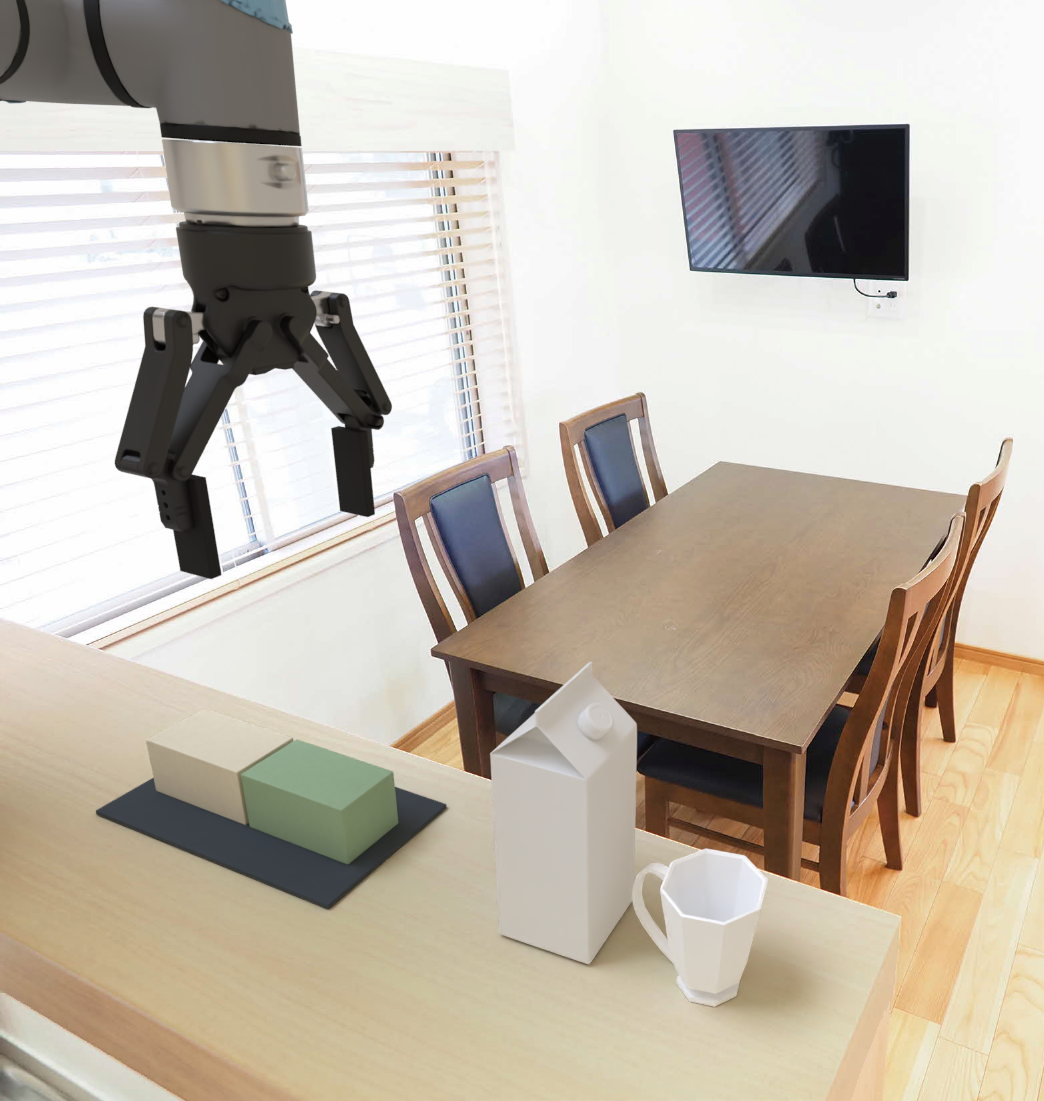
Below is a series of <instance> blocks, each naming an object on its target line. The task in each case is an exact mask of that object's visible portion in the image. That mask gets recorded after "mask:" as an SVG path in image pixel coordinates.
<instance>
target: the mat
mask: <svg viewBox="0 0 1044 1101" xmlns="http://www.w3.org/2000/svg"><path fill="white" fill-rule="evenodd" d="M395 794H396V804H397V815H398V824H397V825H396V826H395V827H393V828H392V829H391V830H390V831H388V832H387V833H386V834H385V835H384V836H382V837H381V838H380V839H379V840H377V841H376V842H375V843H374V844H373V845H371V846H370V847H369V848H368V849H367V850H365V851H364V852H363V853H362V854H360V855H359V856H358V857H357V858H356V859H354V860H353V861H352V862H351V863H350V864H345V863H342V862H340V861H337V860H334V859H332V858H329V857H327V856H324V855H321V854H319V853H316V852H314V851H311V850H308V849H306V848H303V847H301V846H298V845H296V844H293V843H290V842H288V841H285V840H283V839H280V838H277V837H275V836H272V835H270V834H267V833H264V832H262V831H259V830H257V829H254V828H251V827H250V826H249V823H248V824H247V825H244V824H241V823H239V822H236V821H234V820H231V819H228V818H226V817H223V816H221V815H218V814H215V813H213V812H210V811H208V810H205V809H202V808H200V807H197V806H195V805H192V804H189V803H187V802H184V801H182V800H179V799H176V798H174V797H171V796H169V795H166V794H163V793H161V792H158V791H156V787H155V782H154V777H151V778H150V779H148V780H146V781H145V782H143V783H141V784H140V785H138V786H136V787H134V788H133V789H131V790H129V791H128V792H125V793H124V794H122V795H120V796H119V797H116V798H115V799H113V800H112V801H110V802H108V803H107V804H104V805H103V806H102V807H101V806H100V807H99V808H98V809H96V810H95V815H96V816H99V817H102V818H104V819H106V820H109V821H111V822H113V823H116V824H118V825H120V826H124V827H126V828H128V829H131V830H133V831H136V832H138V833H139V834H143V835H146V836H148V837H150V838H152V839H155V840H157V841H160V842H163V843H165V844H167V845H170V846H172V847H175V848H177V849H179V850H182V851H184V852H187V853H189V854H191V855H194V856H196V857H199V858H202V859H204V860H206V861H209V862H211V863H214V864H216V865H219V866H221V867H224V868H225V869H228V870H230V871H233V872H235V873H238V874H240V875H243V876H246V877H248V878H250V879H253V880H255V881H258V882H260V883H262V884H265V885H267V886H270V887H272V888H275V889H277V890H280V891H282V892H285V893H287V894H289V895H292V896H294V897H297V898H299V899H302V900H304V901H306V902H309V903H312V904H314V905H316V906H318V907H321V908H324V909H327V910H329V909H331V908H332V907H333V906H334V905H335V904H336V903H337V902H339V901H340V900H341V899H343V898H344V897H345V896H346V895H347V894H348V893H349V892H351V891H352V890H353V889H354V888H355V887H356V886H358V885H359V884H360V883H362V881H363V880H365V879H366V878H367V877H368V876H369V875H371V874H372V873H373V872H374V871H375V870H376V869H377V868H378V867H380V866H381V865H382V864H383V863H384V862H385V861H387V860H388V859H389V858H391V857H392V855H394V854H395V853H396V852H397V851H398V850H399V849H401V848H402V847H403V846H404V845H405V844H407V843H408V842H409V841H410V840H411V839H412V838H413V837H415V836H416V835H417V834H418V833H420V832H421V830H423V829H424V828H425V827H426V826H428V825H429V824H430V823H431V822H432V821H433V820H435V818H437V817H438V816H439V815H440V814H442V813H443V812H444V811H445V810H446V809H447V808H448V807H447V803H444V802H441V801H439V800H435V799H432V798H430V797H427V796H424V795H420V794H418V793H414V792H413V791H409V790H406V789H403V788H401V787H397V786H395Z"/></svg>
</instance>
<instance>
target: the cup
mask: <svg viewBox="0 0 1044 1101" xmlns="http://www.w3.org/2000/svg"><path fill="white" fill-rule="evenodd" d="M647 874H653V875H654V876H656V877H658V878H659V879H661V881H662V883H661V886H660V888H659V895H660V902H661V908H662V913H663V919H664V926H665V933H666V935H665V934H664V933H663V932H662V930H661V929H660V927H659V926H658V924H657V923H656V922H655V920H654V919H653V918H652V916H651V914H650V912H649V910H648V909H647V907H646V905H645V901H644V897H643V887H644V881H645V879H646V875H647ZM635 875H636V876H635V878H634V884H633V890H632V906H633V910H634V913H635V915H636V917H637V918H638V920H639V922H640V924H641V926H642V927H643V929H644V930H645V931H646V933H647V934H648V935H649V938H651V940H652V941H653V942H654V944H655V945H656V947H658V949H659V950H660V951H661V952H662V953H663V955H664V956H665V957H666V958H667V959H668V960H669V961H670V962H671V963H672V965H673V966H674V969H675V972H676V973H677V974H678V975H677V977H676V986H678V988H679V989H680V991H681V992H682V993H683V995H684V996H685V997H686V999H687V1000H688V1002H691V1003H693V1004H694V1003H695V1004H698V1005H699V1004H700V1005H705V1006H710V1007H713V1008H715V1007H717V1006H719V1005H722V1004H723V1003H725V1002H727V1001H730V1000H731V999H733V998H735V997H737V995H738V991H739V987H740V983H741V979H742V976H743V974H744V971H745V969H746V966H747V964H748V960H749V956H750V952H751V949H752V945H753V941H754V937H755V933H756V929H757V927H758V926H757V925H758V921H759V918H760V914H761V910H762V906H763V903H764V898H765V894H766V891H767V888H768V887H767V886H768V882H769V878H767V877H766V876H765V875H764V873H763V872H762V871H760V870H759V868H758V867H757V866H756V865H755V864H754V863H753V862H752V861H751V860H750V859H749V858H748V857H747V855H744V854H740V853H734V852H728V851H724V850H723V851H722V850H717V849H711V848H703V849H700V850H698V851H695V852H692V853H689V854H688V855H685V856H681V857H680V858H676V859H674V860H672V861H670V863H669V866H668V865H665V864H663V863H661V862H651V863H649V864H648V865H647V866H645V867H643V868H642V869H641V870H639V871H638V873H637V874H635Z"/></svg>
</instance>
